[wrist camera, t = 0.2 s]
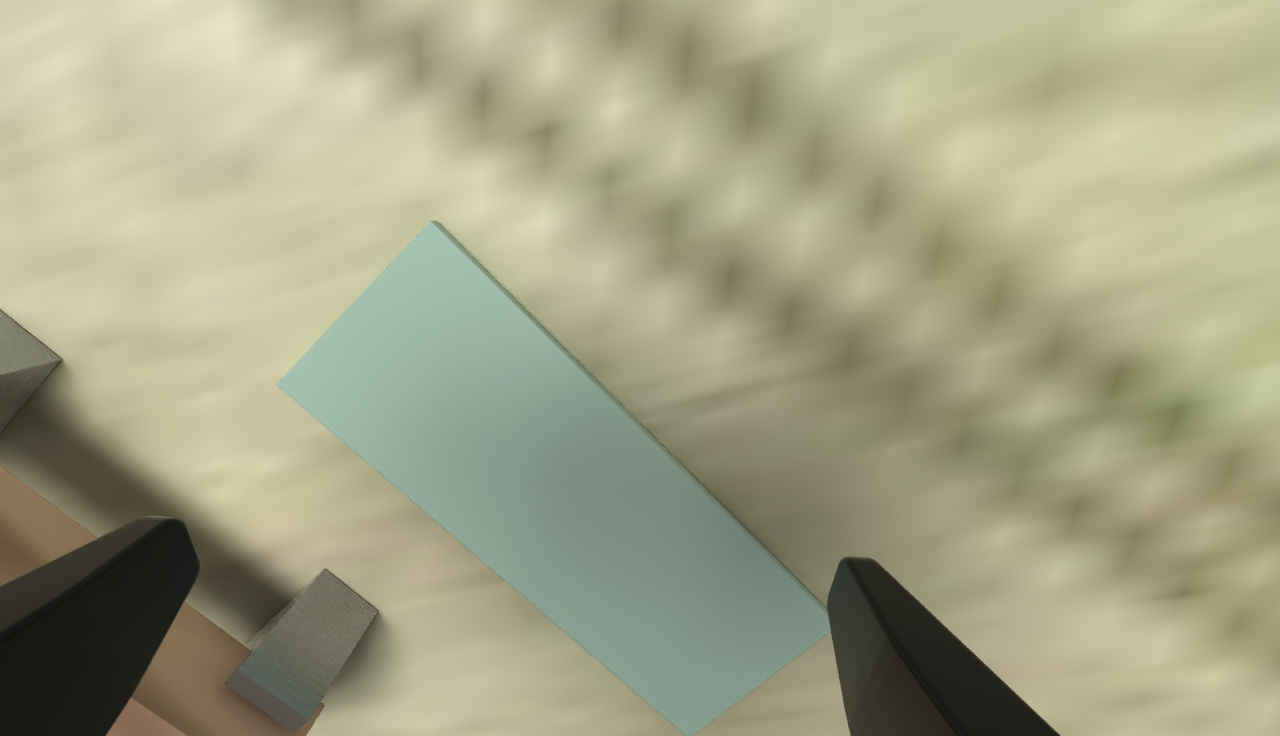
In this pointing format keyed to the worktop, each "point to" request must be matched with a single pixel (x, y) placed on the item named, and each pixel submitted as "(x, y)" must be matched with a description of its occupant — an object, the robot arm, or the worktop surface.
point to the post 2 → (302, 650)
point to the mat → (553, 483)
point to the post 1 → (20, 367)
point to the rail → (186, 660)
